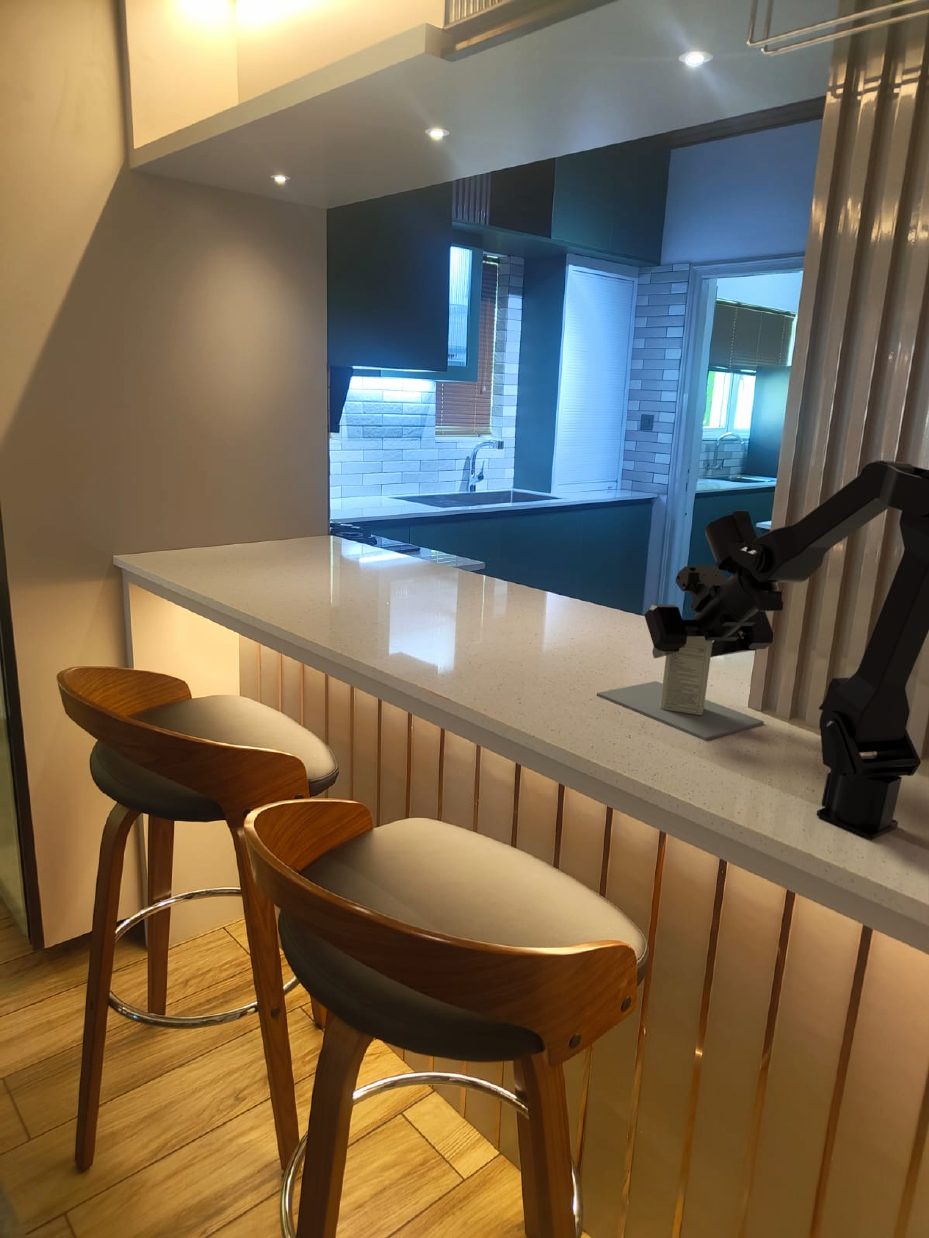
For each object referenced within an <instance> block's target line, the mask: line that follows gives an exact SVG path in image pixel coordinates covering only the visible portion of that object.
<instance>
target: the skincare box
mask: <svg viewBox="0 0 929 1238" xmlns="http://www.w3.org/2000/svg"><path fill="white" fill-rule="evenodd" d="M712 643H713V641H706V640H705V637H687V640H686V644H685V645H684V646H683V647H682V648H679V650H680V651H678V652H675V653H672V654H669V655H666V656H665V662H664V670H663V671H664V672H663V679H662V684H663V686H662V694H661V703H660V709H665V710H671V711H678V712H684V713H690V714H697V715H702V713H703V710H704V703H705V700H706V695H707V688H708V680H709V672H710V665H711V658H712V657H711V650H712Z"/></svg>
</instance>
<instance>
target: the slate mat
mask: <svg viewBox="0 0 929 1238" xmlns="http://www.w3.org/2000/svg"><path fill="white" fill-rule="evenodd" d="M662 686H663V682H660V681H656V680H655V681H649V682H645V683H641V684H635V685H630V686H625V687H620V688H615V689H609V690H605V691H600V692H597V693H596V696H597V695H598V697H600V698H602V699H604V698H605V699H604V700H607V699H608V700H607V701H610V702H612V703H614V702H615V703H614V704H617V705H619V706H621V705H623V706H622V707H624V708H627V709H629V708H630V709H629V710H631V709H632V711H633V712H636V713H638V712H640V713H639V714H641V715H643V716H646V715H647V716H646V717H648V718H650V719H654V720H655V721H658V722H661V723H662V722H663V724H665V725H668V726H669V727H672V728H675V729H678V730H680V731H682V732H685V733H687V734H689V735H691V736H694V737H697V738H699V739H701V740H704V741H708V740H711V739H714V738H718V737H721V736H722V737H723V736H726V735H729V734H732V733H735V732H740V731H743V730H746V729H750V728H754V727H757V726H760V725H764V724H765V723H764V722H765V721H764V720H762V719H759V718H756V717H753V716H751V715H748V714H746V713H742V712H741V711H737V710H735V709H733V708H730V707H726V706H725V705H721V704H718V703H716V702H713V701H711V700H708V699H705V703H704V710H703V713H702V715H697V714H690V713H684V712H678V711H671V710H665V709H660V703H661V694H662Z"/></svg>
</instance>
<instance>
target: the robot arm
mask: <svg viewBox="0 0 929 1238" xmlns="http://www.w3.org/2000/svg"><path fill="white" fill-rule="evenodd" d="M889 508H893V509H897V510H899V511H901V513H900V517H899V521H898V523H899V528H900V534H901V538H902V544H903V547H904V550H903V552H902V553H903V554H902V556H901V559H900V562H899V564H898V567H897V569H896V571H895V573H894V577H893V579H892V582H891V584H890V587H889V589H888V592H887V594H886V597H885V599H884V602H883V605H882V606H881V609H880V612H879V614H878V617H877V620H876V622H875V625H874V627H873V629H872V633H871V635H870V638H869V639H868V643H867V646H866V648H865V651H864V653H863V656H862V658H861V661H860V663H859V665H858V668H857V670H856V671H855V673H853V674H852V675H851V676H850V677H833V678H832V680H831V681H830V682H829V684H828V685H827V686H828V687H827V692H826V695H825V698H824V700H823V702H822V703H821V705H820V706H818V709H819V710H820V711H822V712H821V715H820V716H819V717H820V719H819V729H820V739H821V740H820V741H821V744H820V745H821V754H822V764H823V765H824V766H825V767H828V768H829V769H830V771H829V772H827V775H826V778H825V784H824V788H823V789H824V790H823V794H822V799H821V803H820V804H821V806H822V807H823V808H820V809H818V810H816V816H817V817H819V818H822V819H824V820H826V821H828V822H831V823H832V824H835V825H837V826H840V827H841V828H843V829H846V830H849V831H851V832H854V833H855V834H858V835H860V836H862V837H864V838H866V839H870V840H871V839H875V838H876V837H879V836H881V835H883V834H885V833H887V832H889V831H891V830H892V829H895V828H897V827H898V826H899V821H898V820H896V819H894V816H895V815H894V814H895V810H896V805H897V801H898V797H899V791H900V787H901V785H902V784H901V783H902V779H903V778H902V777H904V776H908V777H913V776H914V775H915V773H916V772H917V770H918V769H919V767H920V766H921V759H920V756H919V754H918V752H917V749H916V747H915V746H914V743H913V742H912V739H911V736H910V735H909V732H908V730H907V724H908V722H909V717H910V712H911V708H910V703H909V698H908V693H907V691H906V690H907V689H906V686H907V683H908V681H909V679H910V676H911V674H912V672H913V669H914V666H915V664H916V662H917V659H918V657H919V654H920V652H921V650H922V647H923V644H924V642H925V640H926V638H927V635H928V633H929V469H927V468H922V467H918V466H916V465H912V464H911V463H908V462H905V461H894V460H874V461H873V462H870V463H867V464H866V465H865V466H864V467H863V468H862V469H861V472H860V474H858V475H857V476H856V477H855V478H853V479H852V480H851V481H849V482H848V483H846V484H845V485H844V486H842V487H841V488H840V489H838V491H836V492H835V493H834V494H832V495H831V496H830V497H828V498H827V499H825V501H823V502H822V503H821V504H819V505H817V506H816V507H815V508H814V509H812V511H810V512H809V513H808V514H805V516H804V517H802V518H801V519H800V520H798V521H796V522H794V523H792V524H789V525H784V526H782V527H781V526H780V527H778V528H774V529H772V530H770V531H768V532H765V533H763V534H762V535H760V536H758V535H757V533H756V531H755V528H754V526H753V521H752V518H751V515H750V513H749V511H748V510H738V509H736V510H734V511H733V512H732V513H731V514H727V515H725V516H721V517H720V518H717V519H716V520H714V521H711V522H709V524H707V526H706V527H705V530H704V533H705V537H706V540H707V542H708V544H709V547H710V550H711V553H712V555H713V557H714V560H715V562H716V565H717V566H716V565H715V566H714V565H704V564H703V565H698V564H696V565H695V564H694V565H693V564H692V565H691V566H684V567H683V568H681V569H680V570H679V571H678V573H677V574H676V577H675V584H676V585H677V586H678V587H679V589H680V591H681V592H685V593H687V592H688V594H689V595H690V596H691V598H693V600H692V601H691V602H690V603H689V604H690V606H691V609H692V611H693V612H696V613H695V614H694V619H683V617H682V614H681V611H680V608H679V607H678V606H676V605H675V604H651V606H650V607H649V608H648V609H647V611H646V612H645V613H644V615H643V616H644V619H645V622H646V626H647V628H648V631H649V635H650V639H651V641H652V644H653V647H652V655H653V659H660V658H663V657H666V655H669V654H672V653H675V652H678V651H680V650H679V648H682V647H683V646H684V645H685V644H686V640H687V637H705V640H706V641H713V643H712V650H711V658H714V657H715V658H717V657H722V656H727V655H733V654H741V653H745V652H746V653H747V652H755V651H757V650H766V649H767V648H768V647H769V646H771V645H772V644H773V642H774V638H775V632H774V630H773V628H772V626H771V622H770V620H769V617H768V614H767V612H782V611H783V610H784V601H783V599H782V598H783V591H782V590H780V589H779V586H778V583H790V584H792V583H794V584H795V583H796V584H797V583H803V582H806V581H807V580H808V579H809V578H810V577H811V576H812V575H813V574H814V573H815V572H816V571H817V570H818V569H819V568H820V567H821V566H822V565H823V563H824V559H825V556H826V554H827V553H828V552H829V551H830V549H832V548H833V547H834V546H836V545H837V544H839V543H840V542H841V541H843V540H845V539H847V537H849V536H850V535H852V534H853V533H854V532H856V531H858V530H859V529H861V528H862V527H864V526H865V525H866V524H867V523H869V522H871V521H872V520H874V519H875V518H876V517H878V516H879V515H881V514H882V513H884V512H885V511H887V510H888V509H889ZM722 571H724V572H728V573H729V574H731V576H730V577H728V578H727V577H726V576H725V575H724V573H723V572H722ZM861 753H876V754H870V755H869V754H867V755H861Z"/></svg>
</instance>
